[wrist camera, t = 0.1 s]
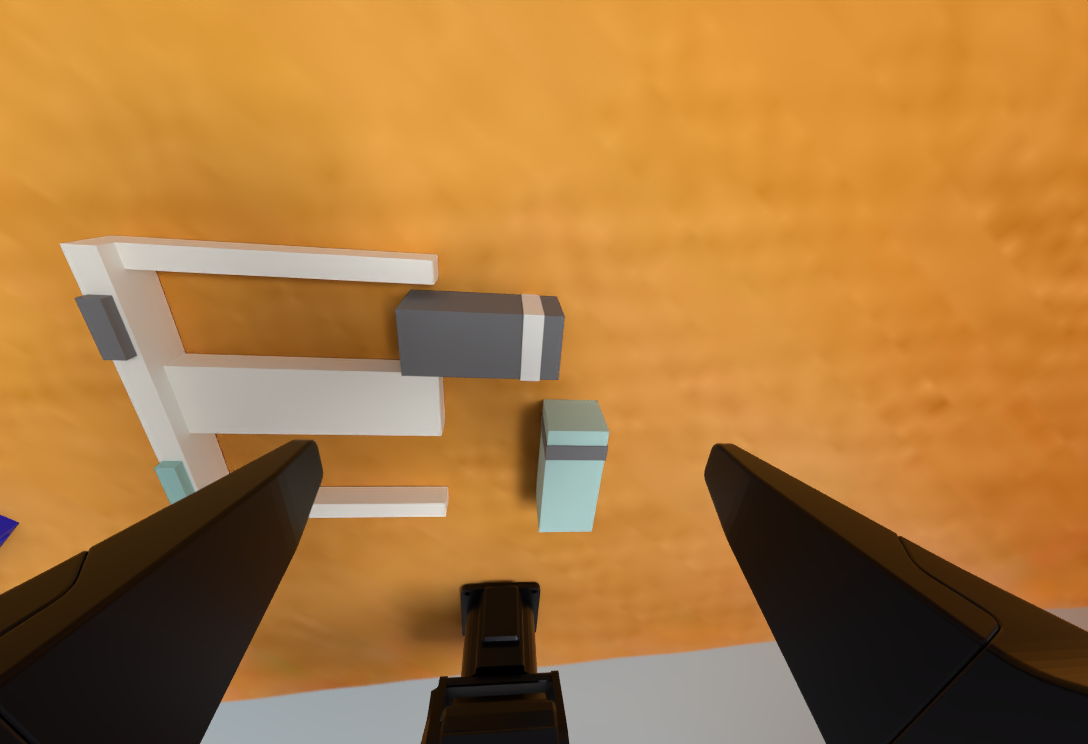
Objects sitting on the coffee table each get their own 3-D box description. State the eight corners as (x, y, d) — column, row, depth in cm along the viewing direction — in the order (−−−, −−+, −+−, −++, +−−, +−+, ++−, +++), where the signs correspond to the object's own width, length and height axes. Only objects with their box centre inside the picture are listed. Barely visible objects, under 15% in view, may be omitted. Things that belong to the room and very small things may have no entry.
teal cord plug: (597, 400, 26) (610, 432, 22) (583, 493, 29) (592, 532, 26) (542, 399, 25) (547, 431, 22) (534, 493, 29) (538, 533, 26)
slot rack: (448, 499, 28) (442, 534, 26) (216, 500, 27) (183, 538, 24) (437, 254, 21) (426, 266, 18) (111, 235, 19) (44, 245, 16)
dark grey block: (551, 353, 24) (558, 381, 21) (415, 349, 23) (401, 377, 20) (556, 295, 22) (565, 316, 19) (411, 288, 21) (394, 308, 18)
